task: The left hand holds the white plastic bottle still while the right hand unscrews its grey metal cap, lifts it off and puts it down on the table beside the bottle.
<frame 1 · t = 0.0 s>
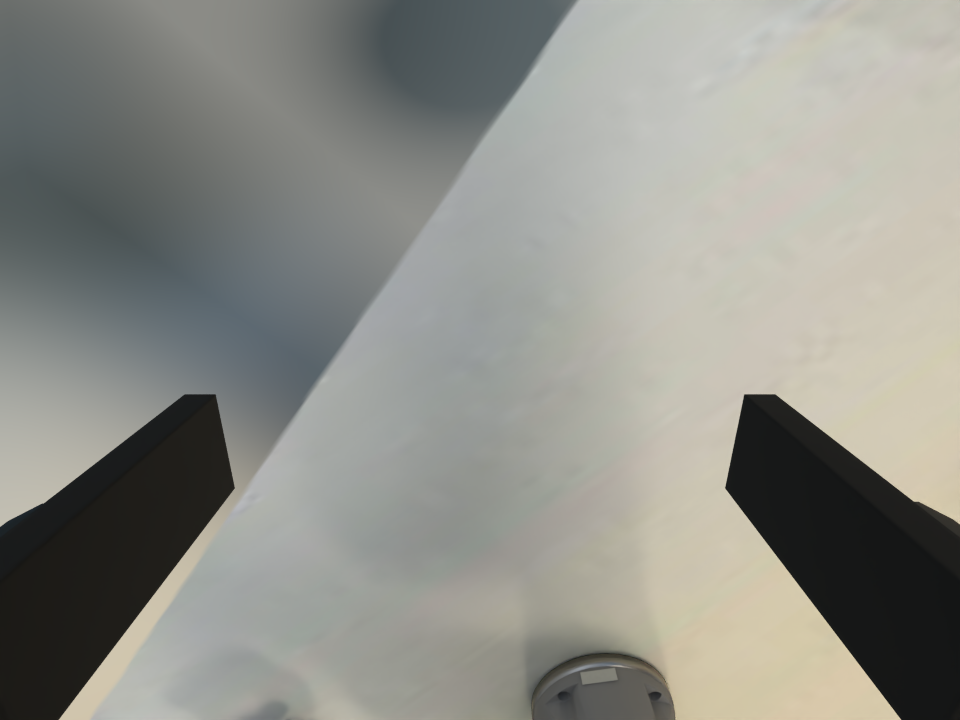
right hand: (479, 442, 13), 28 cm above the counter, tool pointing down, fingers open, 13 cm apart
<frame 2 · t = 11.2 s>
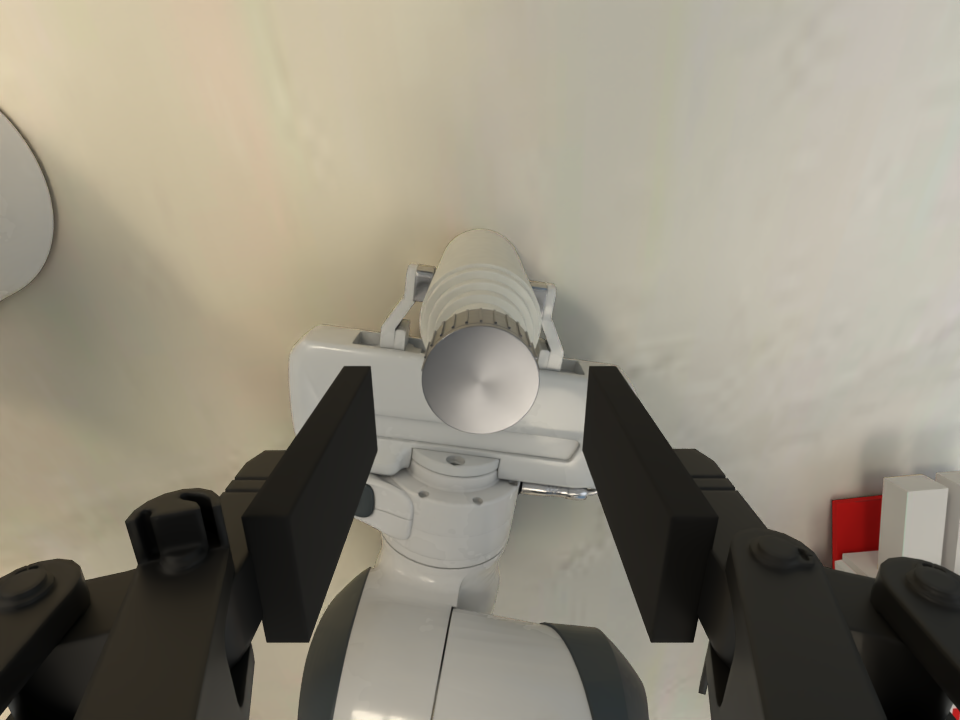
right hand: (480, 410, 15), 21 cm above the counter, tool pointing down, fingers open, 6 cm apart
left hand: (481, 274, 28), fingers closed on bottle, 5 cm apart
cap: (480, 378, 17), point 19 cm above the counter, screwed on, not yet turned
toy: (864, 598, 44), on the counter
bottle: (480, 270, 34), on the counter, touching left hand
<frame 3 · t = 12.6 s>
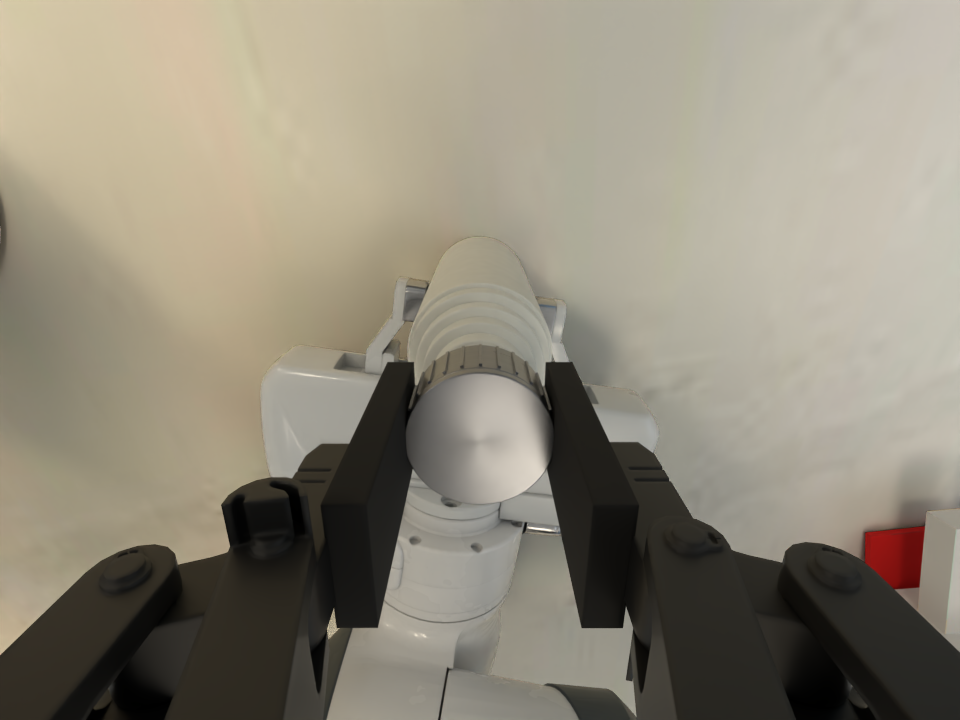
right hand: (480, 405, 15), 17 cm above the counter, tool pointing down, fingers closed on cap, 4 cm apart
cap: (479, 436, 13), point 19 cm above the counter, screwed on, not yet turned, touching right hand
toy: (897, 635, 41), on the counter
bottle: (479, 282, 31), on the counter, touching left hand
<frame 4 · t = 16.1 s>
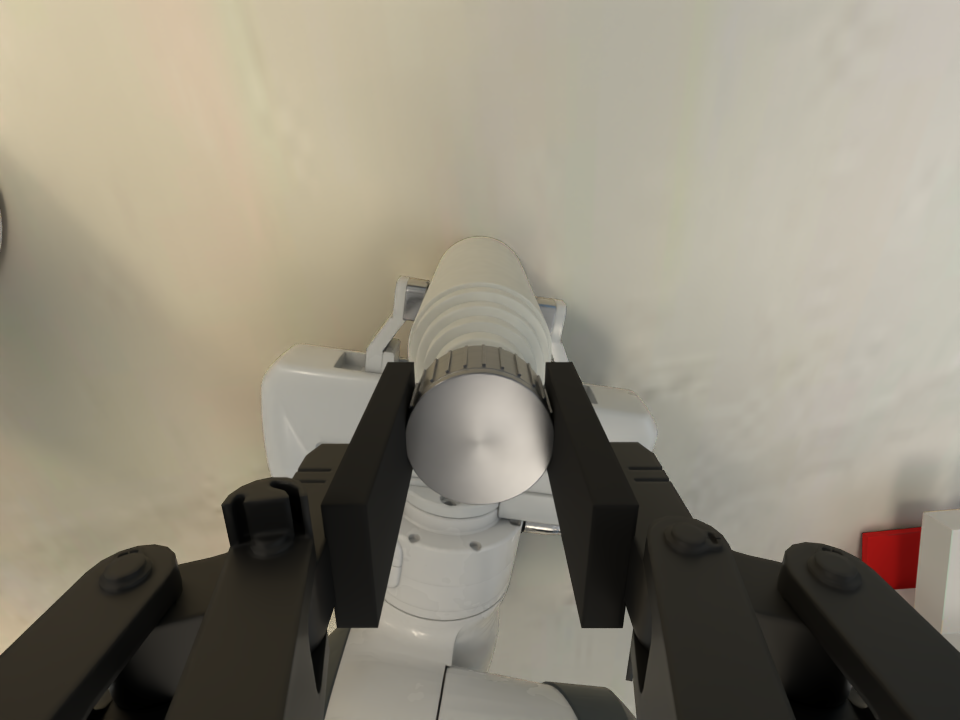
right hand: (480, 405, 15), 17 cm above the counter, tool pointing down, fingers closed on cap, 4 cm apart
cap: (479, 436, 13), point 19 cm above the counter, turned 122° so far, risen 0.1 cm, still on its thread, touching right hand
toy: (893, 636, 41), on the counter
bottle: (479, 281, 31), on the counter, touching left hand
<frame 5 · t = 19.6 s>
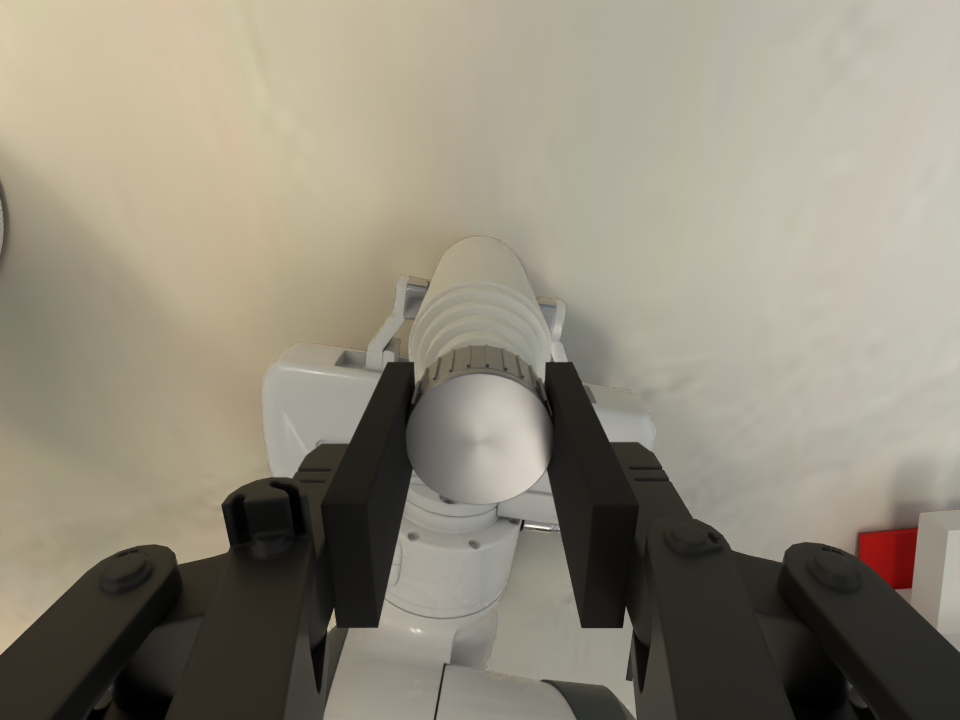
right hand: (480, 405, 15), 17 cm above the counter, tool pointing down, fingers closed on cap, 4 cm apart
cap: (479, 436, 13), point 19 cm above the counter, turned 245° so far, risen 0.3 cm, still on its thread, touching right hand
toy: (889, 636, 41), on the counter
bottle: (479, 281, 31), on the counter, touching left hand
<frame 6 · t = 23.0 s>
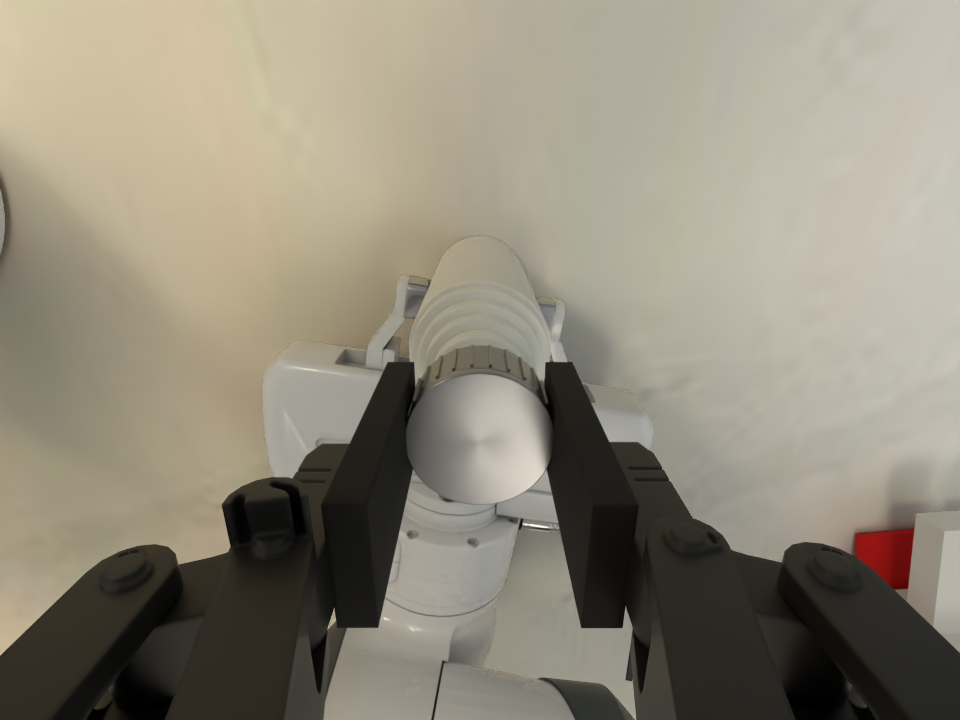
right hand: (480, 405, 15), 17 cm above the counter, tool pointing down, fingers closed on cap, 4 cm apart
cap: (479, 436, 13), point 19 cm above the counter, turned 367° so far, risen 0.4 cm, still on its thread, touching right hand
toy: (885, 636, 41), on the counter
bottle: (479, 280, 31), on the counter, touching left hand
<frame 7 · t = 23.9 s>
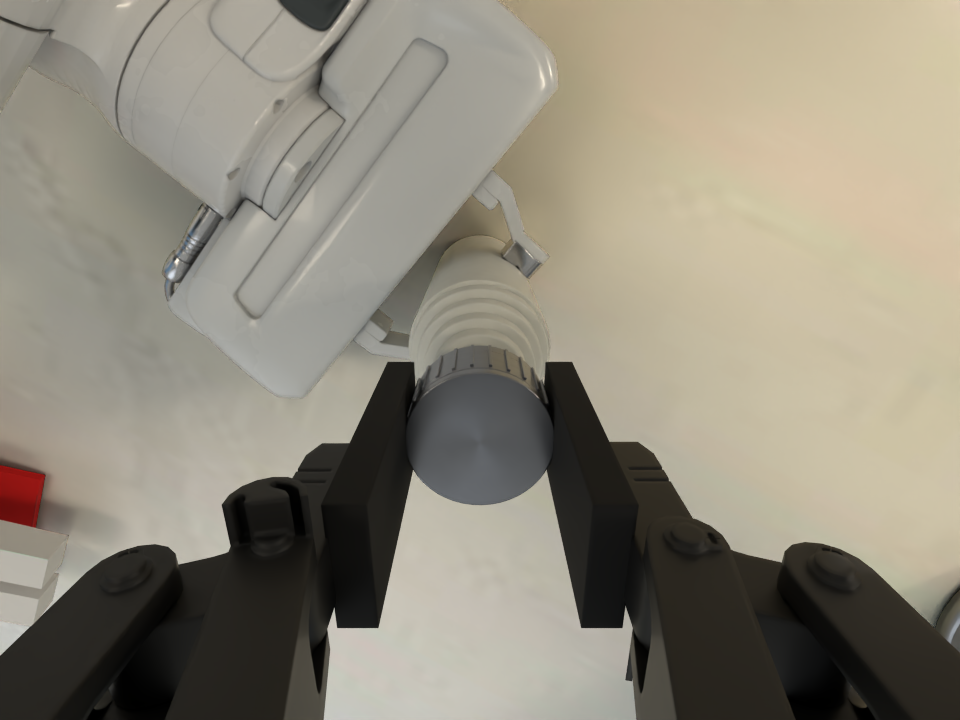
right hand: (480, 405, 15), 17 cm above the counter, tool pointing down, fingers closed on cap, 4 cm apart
left hand: (493, 316, 26), fingers closed on bottle, 5 cm apart
cap: (479, 436, 13), point 19 cm above the counter, off its thread, touching right hand
bottle: (479, 280, 31), on the counter, touching left hand
when the right hand's fingers open (1 cm above the counter, at t = 29.5 s): cap drops 1 cm, point 2 cm above the counter.
when the left hand's fingers open (6 cm above the counter, at t = 30.9 s): bottle stays where it is, on the counter.
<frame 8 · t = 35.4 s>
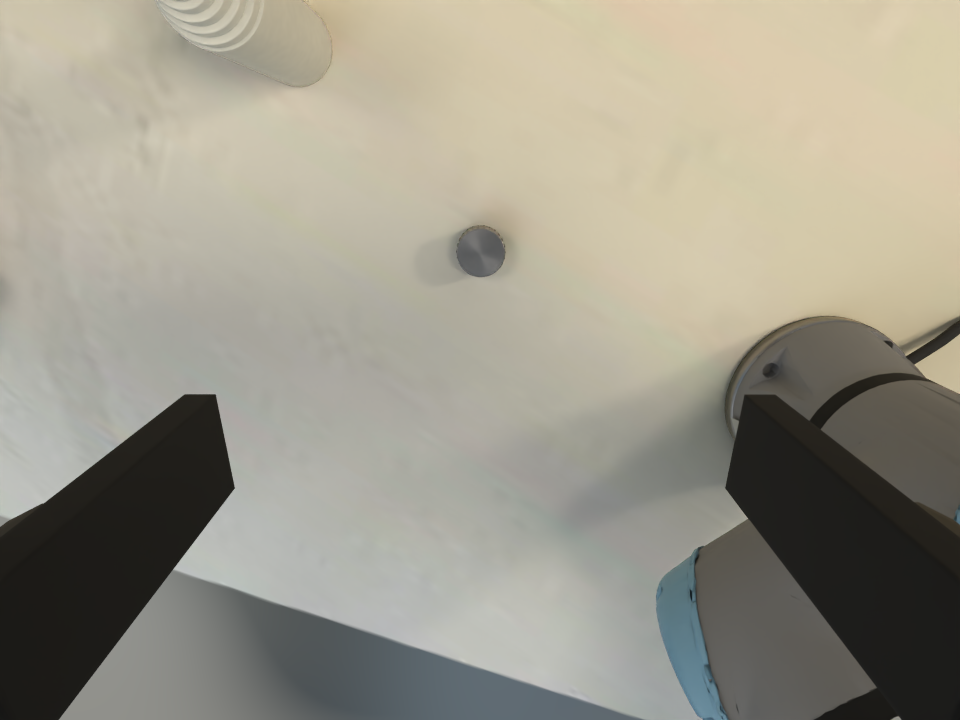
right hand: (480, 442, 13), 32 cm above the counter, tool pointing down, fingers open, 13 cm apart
cap: (480, 252, 41), point 2 cm above the counter, off its thread
bottle: (295, 45, 37), on the counter
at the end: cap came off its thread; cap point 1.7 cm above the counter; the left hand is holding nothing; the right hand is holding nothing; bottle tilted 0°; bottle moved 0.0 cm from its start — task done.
